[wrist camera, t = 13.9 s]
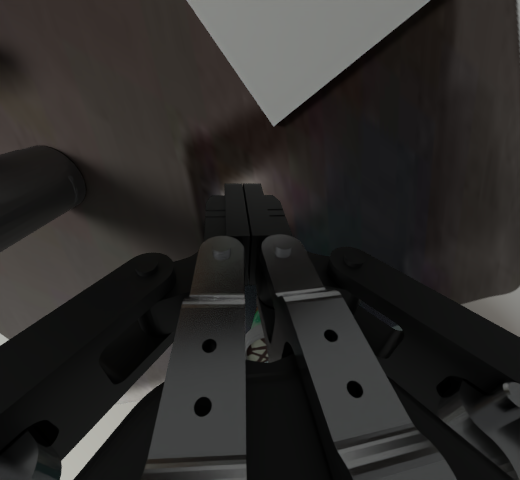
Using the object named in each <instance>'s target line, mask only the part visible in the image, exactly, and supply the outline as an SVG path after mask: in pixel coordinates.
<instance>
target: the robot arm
mask: <svg viewBox="0 0 520 480" xmlns="http://www.w3.org/2000/svg"><path fill="white" fill-rule="evenodd" d="M85 193H86V188H85V183H84V179H83V177H82V175H81V173H80V172H79V170H78V169H77V167H76V166H75V165H74V164H73V163H72V162H71V160H69V159H68V158H67V157H66V156H65V155H63V154H62V153H60V152H58V151H57V150H55V149H52V148H50V147H46V146H33V147H29V148H26V149H22V150H15V151H12V152H8V153H5V154H1V155H0V252H2V251H3V250H5V249H6V248H8V247H10V246H11V245H13V244H15V243H16V242H18V241H20V240H21V239H23V238H24V237H26V236H28V235H29V234H31V233H33V232H34V231H36V230H38V229H39V228H41V227H42V226H44V225H46V224H47V223H49V222H51V221H52V220H54V219H56V218H57V217H59V216H61V215H62V214H64V213H66V212H67V211H69V210H70V209H72V208H74V207H75V206H77V205H79V204H80V203H81V202H82V201H83V199H84V197H85ZM205 217H206V218H205V231H204V242H203V243H202V244H201V246H200V248H199V251H198V252H197V253H196V254H194V255H193V256H191V257H188V258H186V259H182V260H179V261H175V262H173V261H172V260H171V259H170V258H169V257H168V256H167V255H164V254H161V253H146V254H142V255H139V256H136V257H134V258H132V259H131V260H129V261H128V262H126V263H125V264H123V265H122V266H120V267H119V268H117V269H116V270H114V271H113V272H111V273H110V274H108V275H107V276H105V277H104V278H102V279H101V280H99V281H98V282H96V283H94V284H93V285H91V286H90V287H88V288H87V289H85V290H84V291H82V292H81V293H79V294H78V295H76V296H75V297H73V298H72V299H70V300H69V301H67V302H66V303H64V304H63V305H61V306H60V307H58V308H57V309H55V310H54V311H52V312H51V313H49V314H48V315H46V316H45V317H43V318H42V319H40V320H39V321H37V322H36V323H34V324H33V325H31V326H30V327H28V328H27V329H25V330H24V331H22V332H20V333H19V334H17V335H16V336H14V337H13V338H11V339H10V340H8V341H7V342H6V343H4V344H2V345H1V346H0V480H60V476H61V468H62V467H61V460H62V459H63V458H64V457H65V456H66V455H67V454H68V453H69V452H70V451H71V450H72V449H73V448H74V447H75V446H76V445H77V443H79V441H80V440H81V439H82V438H83V437H84V436H85V435H86V434H87V433H88V432H89V431H90V430H91V429H92V428H93V427H94V426H95V424H96V423H97V422H98V421H99V420H100V419H101V418H102V417H103V416H104V415H105V414H106V413H107V412H108V411H109V410H110V409H111V408H112V406H113V405H114V404H115V403H116V402H117V401H118V400H119V399H120V398H121V397H122V396H123V395H124V394H125V393H126V392H127V391H128V390H129V389H130V387H131V386H132V385H133V384H134V383H135V382H136V381H137V380H138V379H139V378H140V377H141V376H142V375H143V374H144V373H145V372H146V371H147V369H148V368H149V367H150V366H151V365H152V364H153V363H154V362H155V361H156V360H157V359H158V358H159V357H160V356H161V355H162V354H163V353H164V351H165V350H166V349H167V348H168V347H169V346H170V345H171V344H172V343H173V346H172V351H171V355H170V360H169V364H168V369H167V373H166V378H165V382H163V383H162V384H160V385H159V386H157V387H156V388H154V389H153V390H152V391H151V392H149V393H148V394H147V395H146V396H145V397H144V398H143V399H142V400H141V401H140V402H139V403H138V404H137V405H136V406H135V407H134V408H133V409H132V410H131V412H130V413H129V414H128V415H127V416H126V417H125V419H124V420H123V421H122V422H121V423H120V425H119V426H118V427H117V428H116V429H115V431H114V432H113V433H112V434H111V435H110V437H109V438H108V439H107V440H106V442H105V443H104V444H103V445H102V446H101V447H100V449H99V450H98V451H97V452H96V453H95V455H94V456H93V457H92V458H91V459H90V461H89V462H88V463H87V464H86V465H85V467H84V468H83V469H82V470H81V471H80V473H79V474H78V475H77V476H76V477H75V478H74V480H520V337H518V336H516V335H514V334H513V333H511V332H509V331H507V330H505V329H504V328H502V327H500V326H498V325H496V324H494V323H492V322H491V321H489V320H487V319H485V318H483V317H482V316H480V315H478V314H476V313H474V312H472V311H470V310H469V309H467V308H465V307H463V306H462V305H460V304H458V303H456V302H454V301H453V300H451V299H449V298H447V297H445V296H443V295H442V294H440V293H438V292H436V291H434V290H432V289H431V288H429V287H427V286H425V285H423V284H422V283H420V282H418V281H416V280H414V279H412V278H411V277H409V276H407V275H405V274H403V273H402V272H400V271H398V270H396V269H394V268H392V267H391V266H389V265H387V264H385V263H383V262H381V261H380V260H378V259H376V258H374V257H372V256H371V255H369V254H367V253H365V252H363V251H361V250H359V249H356V248H352V247H340V248H337V249H335V250H334V251H333V252H332V253H331V256H330V257H328V256H323V255H318V254H314V253H310V252H308V251H306V250H305V248H304V246H303V245H302V243H301V242H300V241H299V240H297V239H296V238H294V237H293V236H292V234H291V231H290V228H289V225H288V222H287V220H286V217H285V214H284V211H283V208H282V205H281V203H280V201H279V200H278V199H277V198H275V197H274V196H273V195H264V194H263V190H262V187H261V184H243V187H242V184H225V196H211V197H210V199H209V200H208V201H207V202H206V216H205ZM248 279H249V285H256V287H257V300H256V302H257V307H258V312H259V316H260V320H261V325H262V329H263V333H264V337H265V342H266V346H267V351H268V363H264V362H258V361H252V360H246V359H245V298H244V289H245V285H248ZM361 300H362V301H363V302H365V303H366V304H368V305H369V306H371V307H372V308H374V309H375V310H377V311H379V312H380V313H382V314H383V315H385V316H386V317H388V318H389V319H391V320H392V321H394V322H395V323H397V324H398V325H399V326H400V327H401V328H402V330H403V331H398V330H395V329H393V328H391V327H390V326H389V325H387V324H386V323H384V322H383V321H381V320H380V319H378V318H377V317H375V316H374V315H372V314H371V313H369V312H368V311H366V310H365V309H363V308H362V307H360V306H359V304H360V302H361Z"/></svg>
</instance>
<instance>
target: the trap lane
mask: <svg viewBox="0 0 520 480" xmlns="http://www.w3.org/2000/svg"><path fill="white" fill-rule="evenodd" d="M429 1H430V0H187V2H188V3H189V4H190V6H191V7H192V9H193V10H194V12H195V13H196V15H197V16H198V18H199V19H200V20H201V22H202V23H203V25H204V26H205V28H206V29H207V31H208V32H209V33H210V35H211V36H212V38H213V39H214V41H215V42H216V44H217V45H218V47H219V48H220V49H221V51H222V52H223V54H224V55H225V57H226V58H227V60H228V61H229V63H230V64H231V65H232V67H233V68H234V70H235V71H236V73H237V74H238V76H239V77H240V78H241V80H242V81H243V83H244V84H245V86H246V87H247V89H248V90H249V92H250V93H251V94H252V96H253V97H254V99H255V100H256V102H257V103H258V105H259V106H260V107H261V109H262V110H263V112H264V113H265V115H266V116H267V118H268V119H269V121H270V122H271V123H272V125H273V126H275V125H276V124H277V123H279V122H280V121H281V120H282V119H284V118H285V117H286V116H287V115H288V114H290V113H291V112H292V111H293V110H295V109H296V108H297V107H298V106H300V105H301V104H302V103H303V102H305V101H306V100H307V99H308V98H310V97H311V96H312V95H313V94H315V93H316V92H317V91H318V90H320V89H321V88H322V87H323V86H325V85H326V84H327V83H328V82H329V81H331V80H332V79H333V78H334V77H336V76H337V75H338V74H339V73H341V72H342V71H343V70H344V69H346V68H347V67H348V66H349V65H351V64H352V63H353V62H354V61H356V60H357V59H358V58H359V57H361V56H362V55H363V54H364V53H365V52H367V51H368V50H369V49H370V48H372V47H373V46H374V45H375V44H377V43H378V42H379V41H380V40H382V39H383V38H384V37H385V36H387V35H388V34H389V33H390V32H392V31H393V30H394V29H395V28H397V27H398V26H399V25H400V24H402V23H403V22H404V21H405V20H406V19H408V18H409V17H410V16H411V15H413V14H414V13H415V12H416V11H418V10H419V9H420V8H421V7H423V6H424V5H425V4H426V3H428V2H429Z"/></svg>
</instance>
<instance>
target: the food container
mask: <svg viewBox="0 0 520 480" xmlns="http://www.w3.org/2000/svg"><path fill="white" fill-rule="evenodd" d="M245 359H246V360H252V361H258V362H266V361H268V351H267V346H266V342H265V337H264V333H263V329H262V325H261V320H260V316H259V312H258V307H257V309H256V312H255V316H254V320H253V323H252V327H251V330H249V332H248V333H247V334H246V336H245Z"/></svg>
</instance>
